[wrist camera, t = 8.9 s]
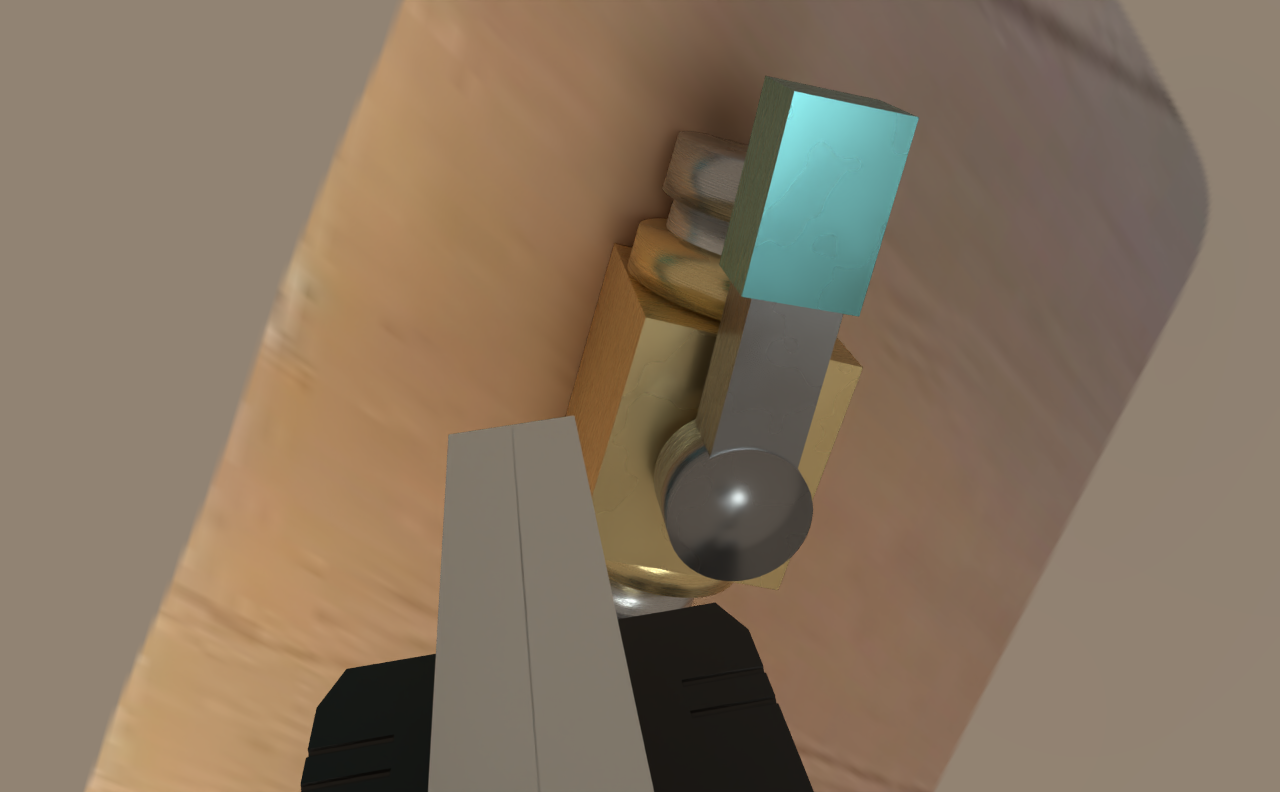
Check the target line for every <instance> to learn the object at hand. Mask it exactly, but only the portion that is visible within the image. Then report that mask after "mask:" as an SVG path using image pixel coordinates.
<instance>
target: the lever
mask: <svg viewBox="0 0 1280 792" xmlns="http://www.w3.org/2000/svg"><path fill="white" fill-rule="evenodd" d="M918 119H919V117H917V116H914V115H912V114H910V113H908V112H905V111H903V110H901V109H899V108H896V107H894V106H892V105H890V104H887V103H885V102H883V101H881V100H877V99H872V98H867V97H863V96H858V95H853V94H849V93H844V92H839V91H834V90H830V89H825V88H820V87H816V86H811V85H806V84H801V83H797V82H792V81H787V80H783V79H778V78H773V77H768V76H765V80H764V84H763V88H762V92H761V96H760V100H759V104H758V108H757V113H756V117H755V121H754V125H753V129H752V133H751V137H750V141H749V145H748V149H747V153H746V157H745V161H744V165H743V169H742V173H741V177H740V182H739V186H738V190H737V194H736V198H735V202H734V206H733V210H732V214H731V218H730V222H729V226H728V230H727V234H726V238H725V242H724V246H723V251H722V255H721V259H720V263H719V265H720V267H721V268H722V270H723V271H724V272H725V274H726V275H727V277H728V278H729V279H730V281H731V282H730V286H729V290H728V294H727V298H726V302H725V306H724V310H723V314H722V318H721V322H720V326H719V330H718V334H717V338H716V342H715V346H714V349H713V353H712V357H711V361H710V365H709V369H708V373H707V377H706V381H705V385H704V389H703V393H702V397H701V401H700V405H699V409H698V413H697V417H696V419H694V420H692V421H691V422H689V423H687V424H685V425H684V426H683V427H681V428H680V429H679V430H677V431H676V432H675V433H674V434H673V435H672V436H671V437H670V438H669V440H668V441H667V442H666V443H665V445H664V447H663V448H662V450H661V452H660V454H659V456H658V458H657V461H656V465H655V469H654V489H655V493H656V497H657V500H658V503H659V507H660V510H661V513H662V516H663V519H664V523H665V526H666V529H667V532H668V536H669V539H670V542H671V544H672V547H673V549H674V551H675V552H676V554H677V555H678V557H679V558H680V559H681V560H682V561H683V563H684V564H686V565H687V566H688V567H689V568H690V569H692V570H694V571H695V572H697V573H699V574H701V575H703V576H705V577H708V578H711V579H715V580H721V581H743V580H749V579H753V578H757V577H760V576H762V575H765V574H767V573H769V572H771V571H773V570H775V569H777V568H778V567H780V566H781V565H782V564H784V563H785V562H786V561H787V560H789V559H790V558H791V557H792V556H793V555H794V554H795V552H796V551H797V550H798V549H799V547H800V546H801V545H802V543H803V542H804V540H805V538H806V536H807V534H808V531H809V528H810V525H811V521H812V514H813V503H812V497H811V493H810V490H809V488H808V485H807V483H806V482H805V480H804V478H803V476H802V475H801V473H800V471H799V470H798V466H799V463H800V460H801V456H802V453H803V449H804V446H805V443H806V439H807V436H808V432H809V429H810V426H811V422H812V419H813V415H814V412H815V409H816V405H817V402H818V399H819V395H820V392H821V388H822V385H823V382H824V378H825V375H826V371H827V368H828V365H829V361H830V358H831V354H832V351H833V348H834V344H835V341H836V337H837V334H838V331H839V327H840V324H841V320H842V317H843V314H848V315H854V316H859V315H860V312H861V309H862V305H863V302H864V299H865V295H866V292H867V289H868V285H869V282H870V279H871V275H872V272H873V269H874V265H875V262H876V259H877V255H878V252H879V249H880V245H881V242H882V239H883V235H884V232H885V229H886V225H887V222H888V219H889V215H890V212H891V209H892V205H893V202H894V199H895V195H896V192H897V189H898V185H899V182H900V179H901V175H902V172H903V169H904V165H905V162H906V159H907V155H908V152H909V149H910V145H911V142H912V139H913V135H914V132H915V129H916V125H917V122H918Z"/></svg>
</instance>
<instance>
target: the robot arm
mask: <svg viewBox="0 0 1280 792" xmlns="http://www.w3.org/2000/svg"><path fill="white" fill-rule="evenodd" d="M308 753H309V757H307V758H306V761H305V766H304V770H303V775H302V780H301V792H814V791H813V789H812V786H811V784H810V781H809V779H808V776H807V774H806V771H805V769H804V766H803V764H802V761H801V759H800V756H799V754H798V751H797V749H796V746H795V744H794V741H793V739H792V736H791V734H790V731H789V729H788V726H787V724H786V721H785V719H784V717H783V714H782V712H781V709H780V707H779V704H778V703H776V699H775V694H774V692H773V689H772V687H771V684H770V682H769V679H768V677H767V674H766V673H764V669H763V664H762V662H761V659H760V657H759V654H758V652H757V649H756V647H755V644H754V642H753V639H752V637H751V634H750V632H749V630H748V629H747V628H746V627H745V626H743V625H742V624H741V623H740V622H738V621H737V620H736V619H735V618H733V617H732V616H731V615H730V614H729V613H727V612H726V611H725V610H724V609H722V608H721V607H720V606H719V605H717V604H716V603H710V604H705V605H699V606H693V607H687V608H681V609H675V610H669V611H663V612H657V613H651V614H646V615H640V616H634V617H628V618H622V619H617V615H616V610H615V605H614V601H613V596H612V591H611V586H610V582H609V577H608V572H607V567H606V563H605V558H604V553H603V549H602V544H601V539H600V534H599V530H598V525H597V520H596V516H595V511H594V506H593V501H592V497H591V492H590V487H589V482H588V478H587V473H586V468H585V464H584V459H583V454H582V449H581V445H580V440H579V435H578V431H577V426H576V421H575V416H567V417H560V418H554V419H547V420H541V421H534V422H528V423H521V424H515V425H508V426H502V427H495V428H488V429H482V430H475V431H469V432H462V433H456V434H449V436H448V453H447V471H446V488H445V505H444V523H443V540H442V557H441V575H440V592H439V610H438V627H437V644H436V654H432V655H426V656H420V657H414V658H408V659H403V660H397V661H391V662H385V663H379V664H373V665H367V666H361V667H356V668H350V669H346V670H345V672H344V673H343V674H342V676H341V677H340V678H339V679H338V681H337V682H336V683H335V685H334V686H333V687H332V689H331V690H330V691H329V693H328V694H327V695H326V696H325V698H324V699H323V700H322V702H321V703H320V704H319V706H318V707H317V709H316V714H315V718H314V723H313V728H312V732H311V737H310V742H309V747H308Z"/></svg>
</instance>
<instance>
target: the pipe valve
mask: <svg viewBox="0 0 1280 792" xmlns="http://www.w3.org/2000/svg"><path fill="white" fill-rule="evenodd" d="M747 149H748V145H745V144H741V143H737V142H734V141H730V140H726V139H723V138H719V137H715V136H712V135H708V134H704V133H699V132H690V131H682V132H679V133H678V137H677V140H676V144H675V147H674V150H673V154H672V157H671V161H670V164H669V168H668V171H667V174H666V178H665V181H664V185H663V190H664V192H665V193H666V194H668V195H669V196H670V197H672V198H673V203H672V206H671V209H670V213H669V216H668V219H664V218H655V219H647V220H644V221H642V222H640V223H639V227H638V230H637V233H636V237H635V240H634V244H633V247H628V246H624V245H620V244H616V243H614V246H613V249H612V253H611V256H610V260H609V263H608V267H607V270H606V274H605V278H604V281H603V285H602V288H601V292H600V295H599V299H598V302H597V306H596V310H595V313H594V317H593V320H592V324H591V327H590V331H589V334H588V338H587V342H586V345H585V349H584V352H583V356H582V359H581V363H580V366H579V370H578V374H577V377H576V381H575V384H574V388H573V391H572V395H571V398H570V402H569V406H568V409H567V413H566V416H565V417H567V416H575V421H576V426H577V431H578V435H579V440H580V445H581V449H582V454H583V459H584V464H585V468H586V473H587V478H588V482H589V487H590V492H591V497H592V501H593V506H594V511H595V516H596V520H597V525H598V530H599V534H600V539H601V544H602V549H603V553H604V558H605V563H606V567H607V572H608V577H609V582H610V586H611V591H612V596H613V601H614V605H615V610H616V615H617V619H622V618H628V617H634V616H640V615H646V614H651V613H657V612H663V611H669V610H675V609H681V608H687V607H691V606H692V603H693V600H694V598H697V597H705V596H710V595H714V594H717V593H719V592H722V591H724V590H725V589H727V588H728V587H730V586H731V585H732V584H733V583H734V582H735V583H741V584H746V585H752V586H758V587H763V588H769V589H775V590H778V589H779V587H780V584H781V582H782V579H783V576H784V574H785V571H786V568H787V566H788V563H789V561H790V559H789V560H787V561H786V562H785V563H784V564H782V565H781V566H780V567H778V568H777V569H775V570H773V571H771V572H769V573H767V574H765V575H762V576H760V577H757V578H753V579H749V580H743V581H721V580H715V579H711V578H708V577H705V576H703V575H701V574H699V573H697V572H695V571H694V570H692V569H690V568H689V567H688V566H687V565H686V564H684V563H683V561H682V560H681V559H680V558H679V557H678V555H677V554H676V552H675V551H674V549H673V547H672V544H671V542H670V539H669V536H668V532H667V529H666V526H665V523H664V519H663V516H662V513H661V510H660V507H659V503H658V500H657V497H656V493H655V489H654V469H655V465H656V461H657V458H658V456H659V454H660V452H661V450H662V448H663V447H664V445H665V443H666V442H667V441H668V440H669V438H670V437H671V436H672V435H673V434H674V433H675V432H676V431H677V430H679V429H680V428H681V427H683V426H684V425H685V424H687V423H689V422H691V421H692V420H694V419H696V417H697V413H698V409H699V405H700V401H701V397H702V393H703V389H704V385H705V381H706V377H707V373H708V369H709V365H710V361H711V357H712V353H713V349H714V346H715V342H716V338H717V334H718V330H719V326H720V322H721V318H722V314H723V310H724V306H725V302H726V298H727V294H728V290H729V286H730V282H731V281H730V279H729V278H728V277H727V275H726V274H725V272H724V271H723V270H722V268H721V267H720V265H719V263H720V259H721V255H722V251H723V246H724V242H725V238H726V234H727V230H728V226H729V222H730V218H731V214H732V210H733V206H734V202H735V198H736V194H737V190H738V186H739V182H740V177H741V173H742V169H743V165H744V161H745V157H746V153H747ZM862 369H863V367H862V366H861V365H860V364H859V362H858V361H857V360H856V359H855V358H854V357H853V355H852V354H851V353H850V352H849V351H848V350H847V349H846V347H845V346H844V345H843V344H842V343H841V342H840V340H839V339H838V338H837V337H836V341H835V344H834V348H833V351H832V354H831V358H830V361H829V365H828V368H827V371H826V375H825V378H824V382H823V385H822V388H821V392H820V395H819V399H818V402H817V405H816V409H815V412H814V415H813V419H812V422H811V426H810V429H809V432H808V436H807V439H806V443H805V446H804V449H803V453H802V456H801V460H800V463H799V466H798V470H799V471H800V473H801V475H802V476H803V478H804V480H805V482H806V483H807V485H808V488H809V490H810V493H811V497H812V500H813V497H814V495H815V492H816V490H817V487H818V484H819V482H820V479H821V476H822V474H823V471H824V469H825V466H826V463H827V461H828V458H829V455H830V453H831V450H832V448H833V445H834V442H835V440H836V437H837V434H838V432H839V429H840V426H841V424H842V421H843V419H844V416H845V413H846V411H847V408H848V405H849V403H850V400H851V398H852V395H853V392H854V390H855V387H856V384H857V382H858V379H859V377H860V374H861V371H862Z"/></svg>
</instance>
